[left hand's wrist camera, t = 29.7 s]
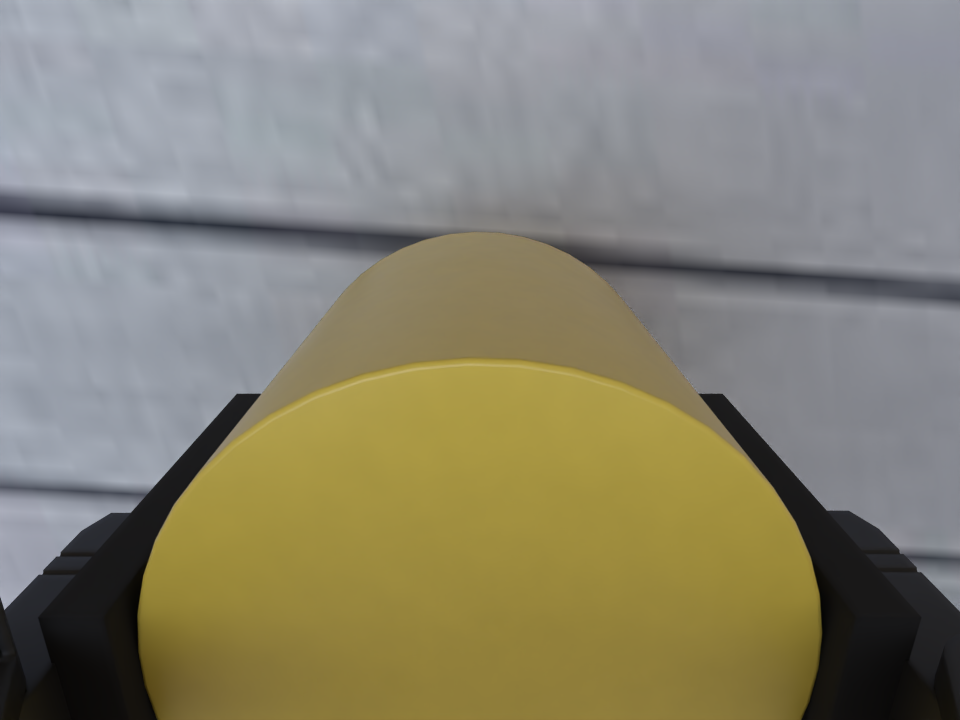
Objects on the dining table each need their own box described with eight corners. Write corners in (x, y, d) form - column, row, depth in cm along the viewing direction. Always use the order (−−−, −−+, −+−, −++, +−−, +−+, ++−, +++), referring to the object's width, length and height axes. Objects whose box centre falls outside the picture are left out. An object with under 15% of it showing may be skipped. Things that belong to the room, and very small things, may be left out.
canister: (239, 322, 15) (-15, 535, 8) (578, 166, 14) (702, 223, 6) (402, 591, 18) (343, 958, 10) (698, 481, 17) (891, 798, 9)
